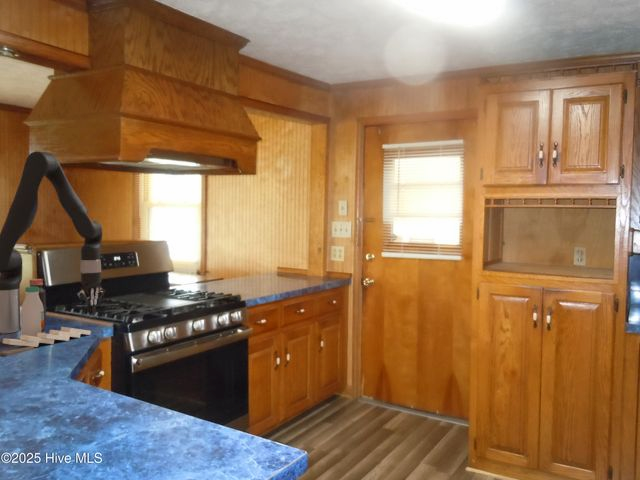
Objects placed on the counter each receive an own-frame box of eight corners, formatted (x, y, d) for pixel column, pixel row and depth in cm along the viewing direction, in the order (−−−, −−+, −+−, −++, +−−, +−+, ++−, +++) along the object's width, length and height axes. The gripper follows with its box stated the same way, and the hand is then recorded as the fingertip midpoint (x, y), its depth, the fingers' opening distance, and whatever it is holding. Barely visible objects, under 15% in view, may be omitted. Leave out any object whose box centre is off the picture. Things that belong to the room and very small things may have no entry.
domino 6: (90, 334, 210) (69, 332, 201) (81, 333, 212) (60, 330, 203) (91, 330, 210) (70, 327, 201) (82, 329, 212) (61, 326, 203)
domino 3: (53, 344, 194) (27, 341, 186) (45, 342, 197) (19, 339, 189) (54, 339, 195) (28, 336, 186) (46, 338, 197) (20, 334, 189)
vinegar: (29, 325, 225) (28, 278, 224) (47, 324, 227) (46, 278, 226) (26, 329, 219) (25, 280, 218) (44, 328, 221) (43, 280, 220)
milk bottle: (37, 342, 197) (36, 288, 196) (16, 341, 198) (15, 288, 197) (48, 337, 205) (47, 285, 204) (28, 336, 205) (27, 285, 204)
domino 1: (37, 346, 189) (9, 344, 181) (30, 345, 192) (2, 342, 184) (39, 342, 190) (10, 339, 182) (31, 340, 192) (3, 338, 184)
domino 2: (34, 351, 187) (7, 358, 178) (24, 349, 189) (-3, 356, 180) (34, 346, 187) (7, 353, 178) (24, 345, 189) (-3, 351, 180)
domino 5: (79, 337, 205) (58, 335, 196) (70, 336, 207) (48, 333, 198) (80, 333, 205) (59, 330, 196) (71, 332, 207) (50, 329, 199)
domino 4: (68, 340, 200) (46, 338, 191) (59, 339, 202) (36, 336, 193) (69, 336, 200) (47, 333, 191) (60, 335, 202) (37, 332, 194)
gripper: (97, 269, 219) (98, 310, 220) (70, 272, 207) (71, 316, 208) (110, 269, 216) (111, 312, 217) (84, 273, 204) (85, 317, 205)
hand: (91, 314), depth 213 cm, fingers closed
